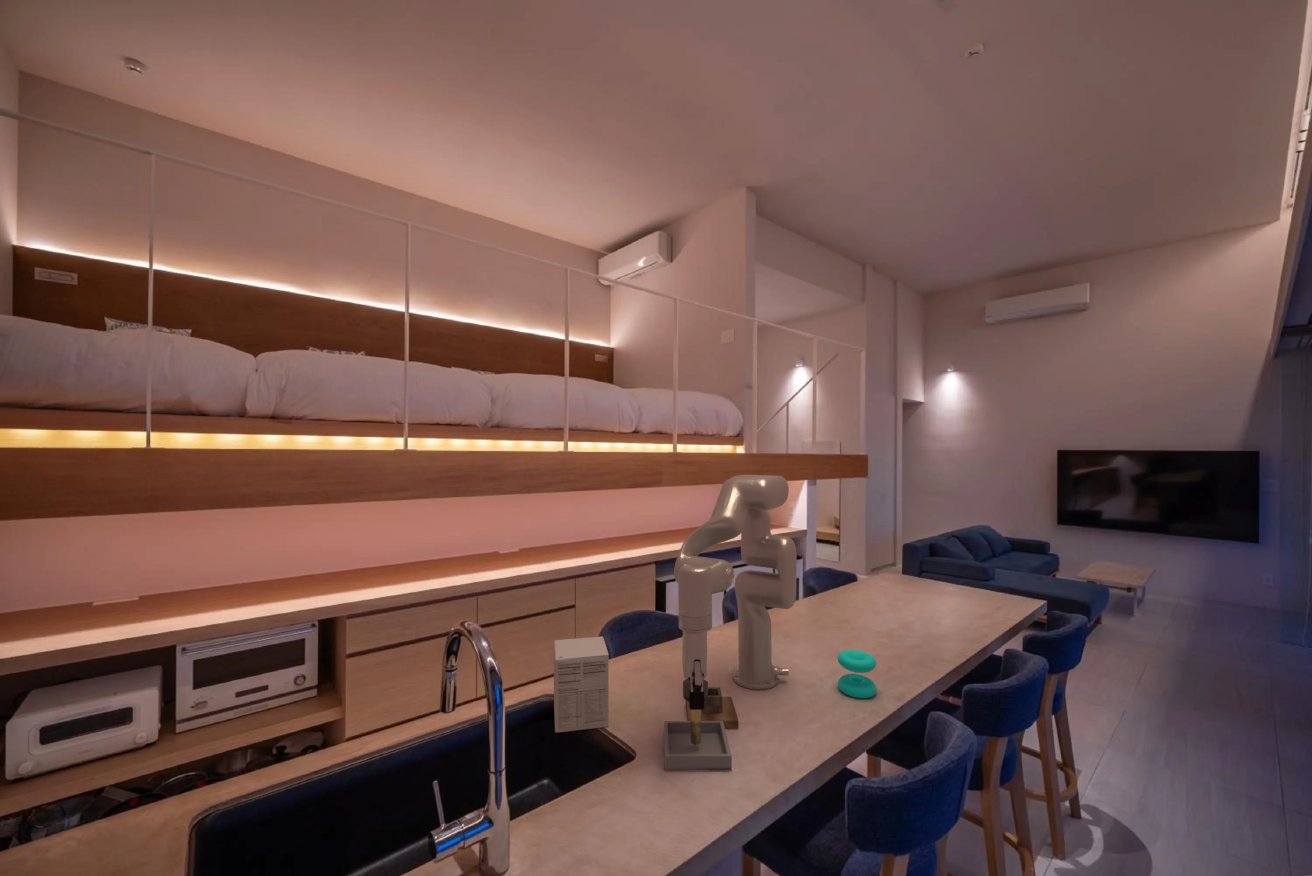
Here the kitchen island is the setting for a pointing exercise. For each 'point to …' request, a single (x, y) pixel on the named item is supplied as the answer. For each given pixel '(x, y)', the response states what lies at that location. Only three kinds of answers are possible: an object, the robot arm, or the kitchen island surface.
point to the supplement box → (580, 684)
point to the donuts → (854, 682)
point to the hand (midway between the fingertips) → (695, 701)
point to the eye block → (718, 709)
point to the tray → (696, 747)
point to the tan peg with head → (694, 712)
